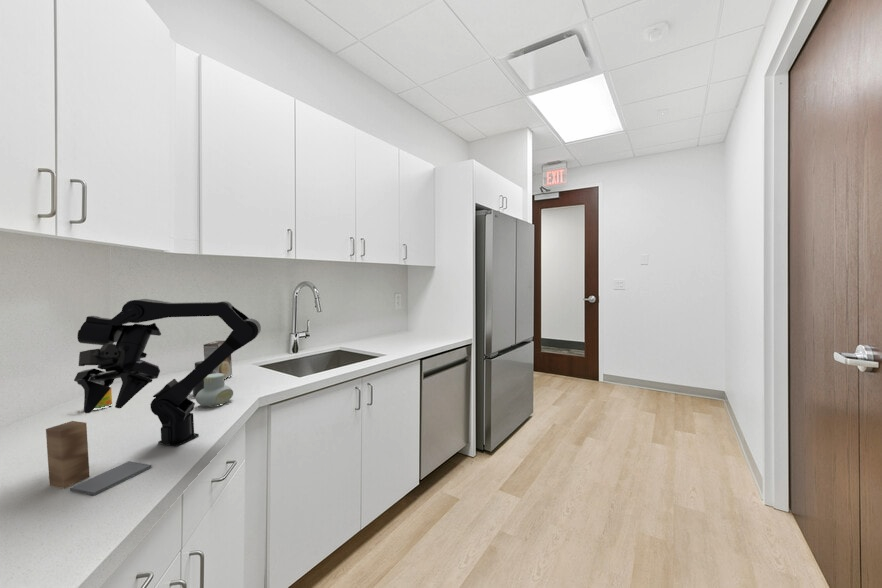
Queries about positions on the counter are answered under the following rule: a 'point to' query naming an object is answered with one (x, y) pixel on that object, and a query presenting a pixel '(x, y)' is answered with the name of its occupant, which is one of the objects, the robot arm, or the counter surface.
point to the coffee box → (225, 365)
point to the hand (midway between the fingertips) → (101, 410)
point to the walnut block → (67, 454)
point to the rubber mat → (110, 478)
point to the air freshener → (214, 391)
